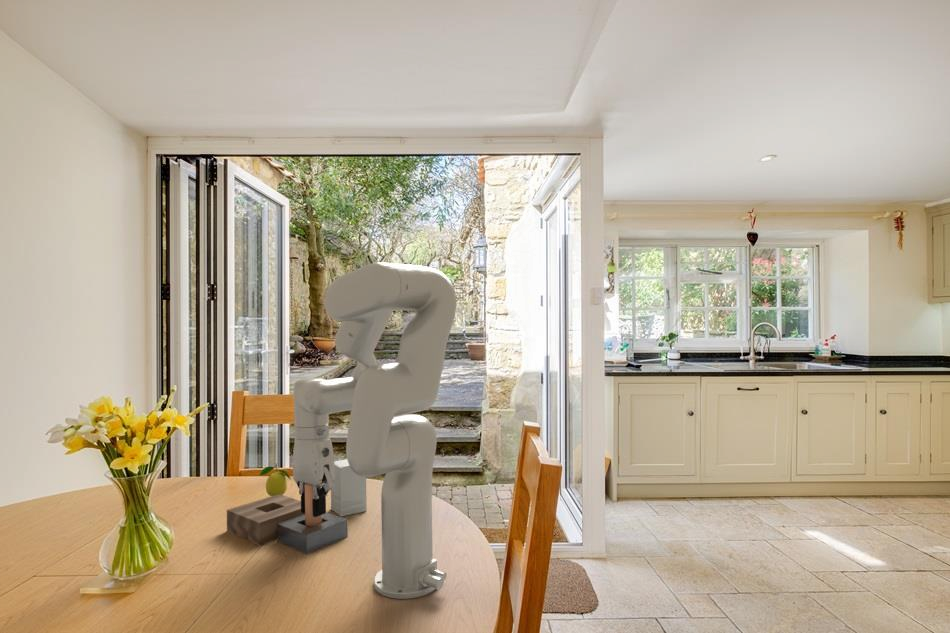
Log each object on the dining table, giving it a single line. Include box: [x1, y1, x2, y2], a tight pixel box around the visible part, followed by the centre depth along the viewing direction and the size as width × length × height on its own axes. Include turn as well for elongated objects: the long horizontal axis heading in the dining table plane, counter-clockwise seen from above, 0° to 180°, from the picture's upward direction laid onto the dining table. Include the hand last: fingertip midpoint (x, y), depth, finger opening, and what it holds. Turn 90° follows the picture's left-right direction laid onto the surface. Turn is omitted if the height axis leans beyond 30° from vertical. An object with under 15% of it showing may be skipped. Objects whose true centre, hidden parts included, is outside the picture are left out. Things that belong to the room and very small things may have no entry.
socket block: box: [226, 494, 305, 546], centre depth 128 cm, size 14×14×5 cm
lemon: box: [259, 462, 291, 497], centre depth 149 cm, size 7×6×10 cm
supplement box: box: [330, 458, 368, 517], centre depth 140 cm, size 7×7×13 cm
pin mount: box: [276, 511, 349, 555], centre depth 121 cm, size 11×11×4 cm
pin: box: [305, 483, 322, 527], centre depth 121 cm, size 4×4×12 cm
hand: (313, 512), depth 121 cm, fingers closed on pin, 3 cm apart
